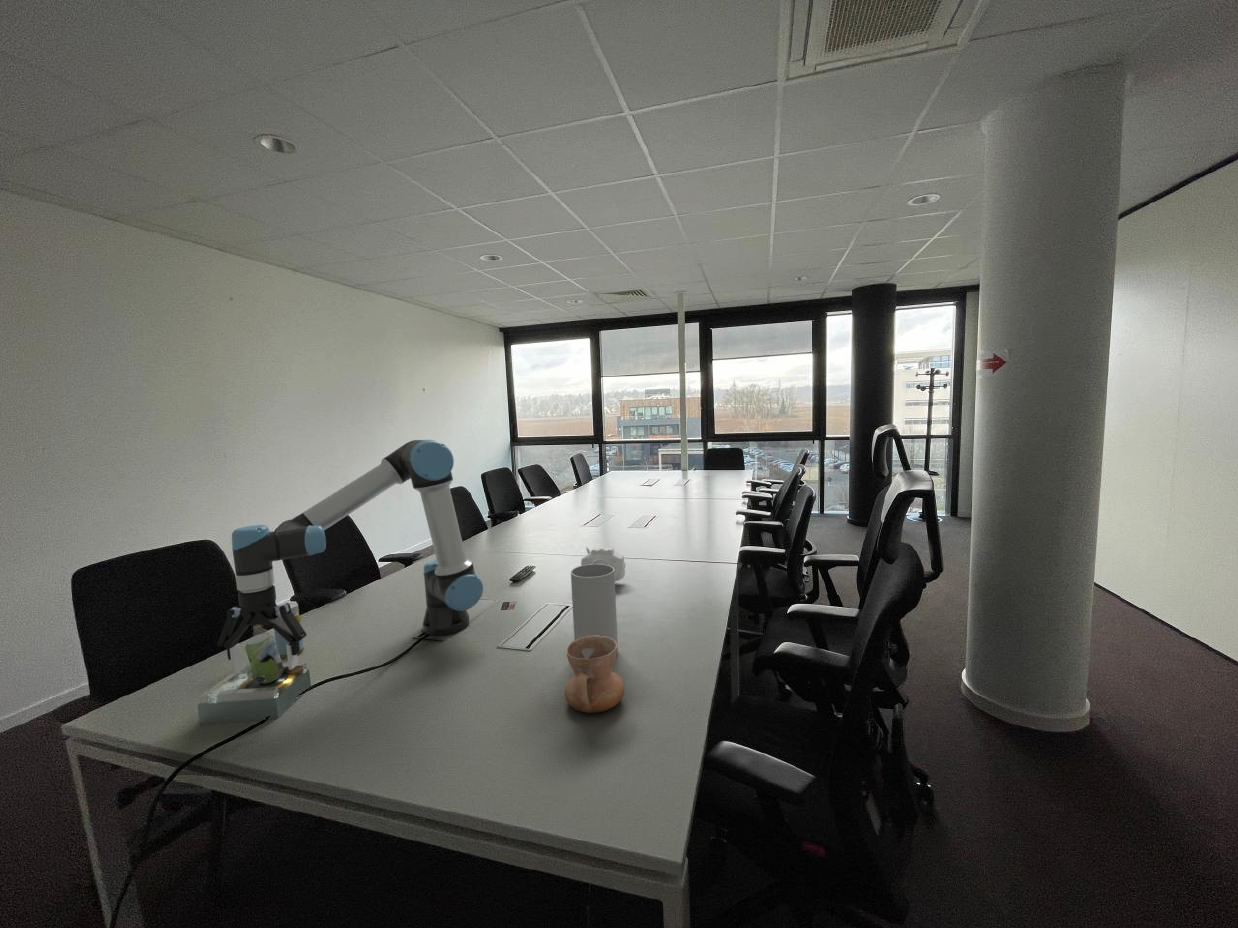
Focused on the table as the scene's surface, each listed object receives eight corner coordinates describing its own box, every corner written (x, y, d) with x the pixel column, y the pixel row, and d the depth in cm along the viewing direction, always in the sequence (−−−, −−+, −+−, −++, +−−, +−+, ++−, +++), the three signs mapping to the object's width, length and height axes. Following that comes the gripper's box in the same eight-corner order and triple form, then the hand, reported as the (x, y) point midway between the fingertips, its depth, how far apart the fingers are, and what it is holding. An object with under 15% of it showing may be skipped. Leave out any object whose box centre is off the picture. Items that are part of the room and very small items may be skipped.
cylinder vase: (625, 647, 147) (621, 566, 144) (606, 667, 135) (602, 579, 133) (588, 641, 152) (584, 562, 150) (567, 660, 141) (562, 575, 138)
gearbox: (311, 686, 132) (308, 661, 132) (278, 718, 118) (275, 690, 118) (241, 691, 131) (238, 666, 131) (200, 724, 117) (196, 696, 117)
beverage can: (290, 674, 128) (285, 630, 127) (262, 689, 121) (256, 643, 120) (272, 671, 130) (267, 627, 129) (244, 686, 123) (238, 640, 122)
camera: (586, 580, 211) (584, 543, 209) (627, 580, 207) (625, 543, 206) (579, 589, 200) (577, 550, 198) (623, 589, 197) (621, 550, 195)
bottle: (290, 659, 149) (285, 611, 148) (271, 658, 151) (266, 610, 149) (309, 648, 156) (304, 602, 155) (291, 647, 157) (286, 602, 156)
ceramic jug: (580, 679, 130) (576, 628, 128) (633, 685, 125) (630, 632, 124) (551, 722, 113) (546, 663, 111) (611, 730, 108) (607, 669, 107)
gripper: (316, 579, 128) (324, 658, 130) (215, 585, 126) (225, 665, 128) (299, 589, 120) (308, 672, 122) (192, 596, 119) (203, 680, 121)
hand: (265, 669), depth 125 cm, fingers open, 13 cm apart
